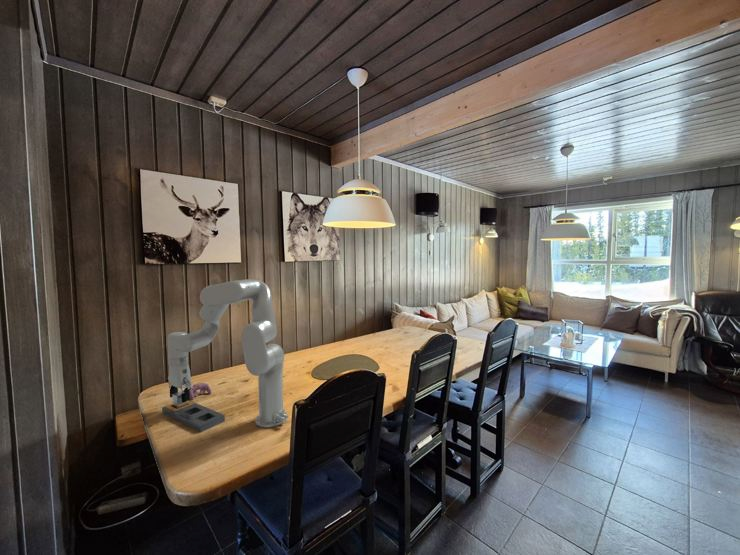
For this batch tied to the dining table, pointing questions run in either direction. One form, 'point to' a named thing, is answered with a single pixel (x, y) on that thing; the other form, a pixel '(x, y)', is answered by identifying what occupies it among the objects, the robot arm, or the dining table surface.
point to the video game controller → (196, 387)
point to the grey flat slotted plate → (194, 416)
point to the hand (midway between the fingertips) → (179, 398)
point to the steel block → (178, 400)
